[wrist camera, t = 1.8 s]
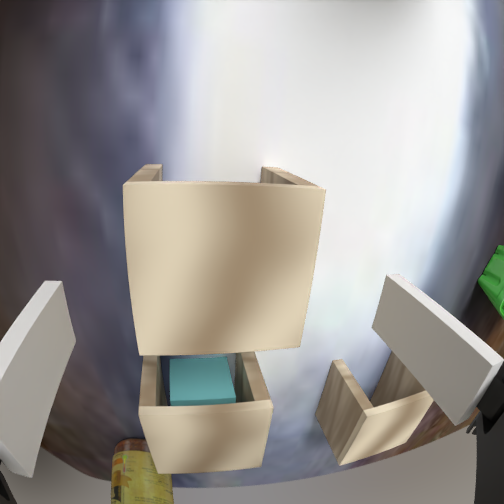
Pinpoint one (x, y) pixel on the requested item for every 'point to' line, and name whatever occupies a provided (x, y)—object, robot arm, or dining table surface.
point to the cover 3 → (370, 411)
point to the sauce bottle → (138, 476)
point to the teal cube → (201, 382)
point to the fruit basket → (494, 280)
